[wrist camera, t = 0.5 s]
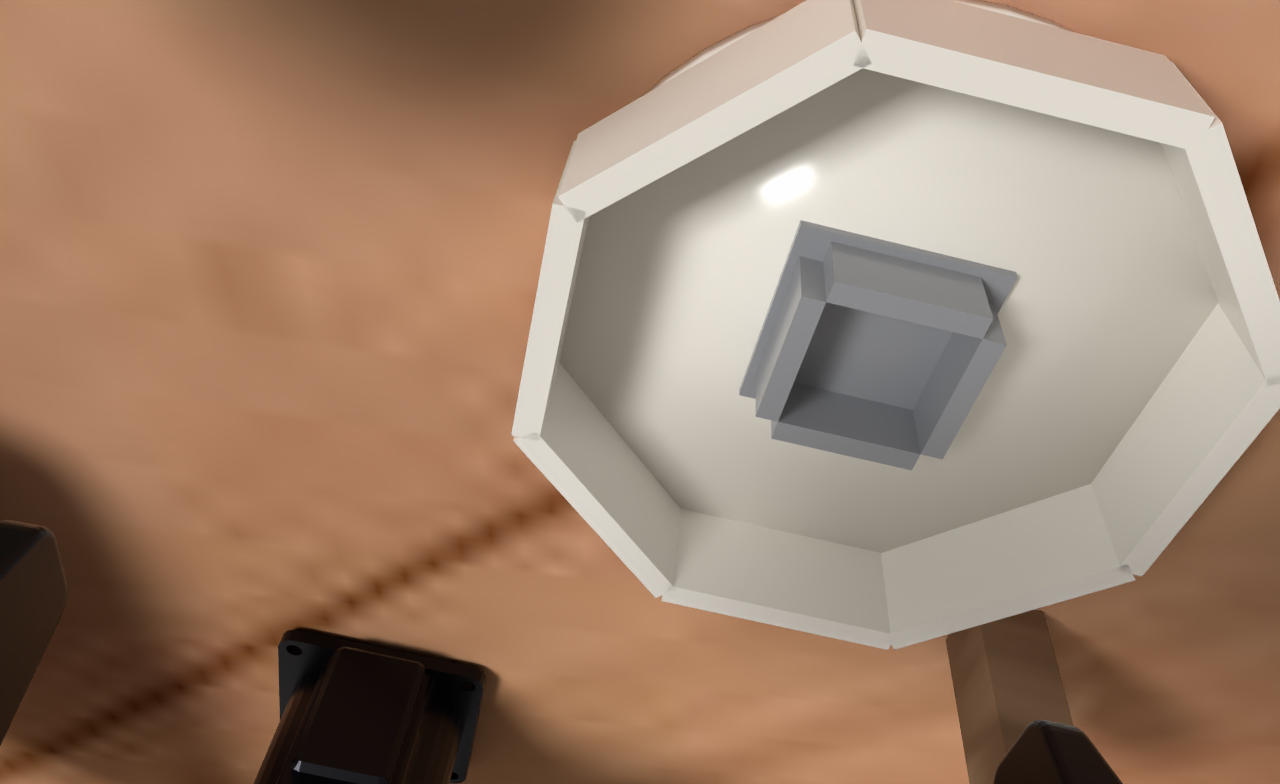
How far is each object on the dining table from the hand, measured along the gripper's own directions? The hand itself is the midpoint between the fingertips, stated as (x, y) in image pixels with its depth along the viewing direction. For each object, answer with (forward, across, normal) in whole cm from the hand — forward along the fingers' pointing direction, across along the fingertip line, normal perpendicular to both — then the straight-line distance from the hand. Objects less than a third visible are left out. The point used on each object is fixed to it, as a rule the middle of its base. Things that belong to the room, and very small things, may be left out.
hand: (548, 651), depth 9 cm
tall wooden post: (+14, -12, +13) cm, 23 cm away
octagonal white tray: (+14, -6, +4) cm, 15 cm away
